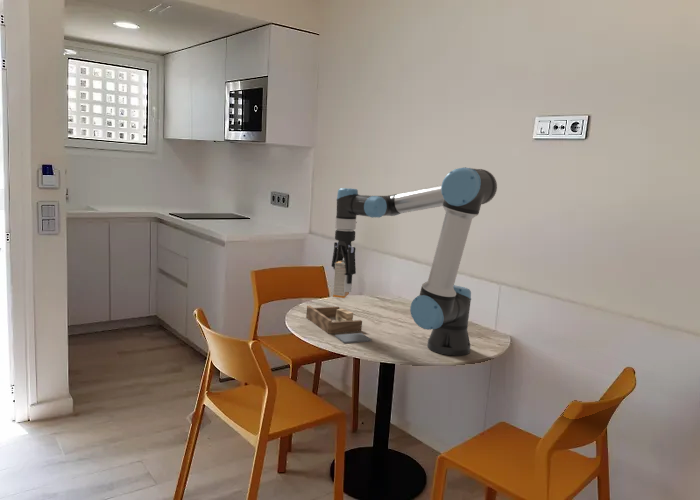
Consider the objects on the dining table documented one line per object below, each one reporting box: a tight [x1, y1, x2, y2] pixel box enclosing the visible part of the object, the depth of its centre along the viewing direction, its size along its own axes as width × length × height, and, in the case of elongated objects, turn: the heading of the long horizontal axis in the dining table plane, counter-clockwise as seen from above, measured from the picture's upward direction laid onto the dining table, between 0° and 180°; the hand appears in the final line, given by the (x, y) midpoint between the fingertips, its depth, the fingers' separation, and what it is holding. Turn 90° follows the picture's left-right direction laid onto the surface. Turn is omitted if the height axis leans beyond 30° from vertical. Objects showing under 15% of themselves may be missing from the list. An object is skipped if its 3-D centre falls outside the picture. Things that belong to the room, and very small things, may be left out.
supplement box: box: [332, 259, 350, 299], centre depth 213 cm, size 8×5×13 cm, turn 168°
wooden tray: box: [305, 305, 363, 335], centre depth 222 cm, size 21×14×5 cm, turn 26°
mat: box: [334, 332, 373, 344], centre depth 206 cm, size 8×11×1 cm
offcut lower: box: [334, 316, 354, 322], centre depth 224 cm, size 9×3×3 cm, turn 25°
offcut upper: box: [336, 308, 354, 320], centre depth 224 cm, size 7×3×2 cm, turn 38°
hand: (342, 289), depth 214 cm, fingers closed on supplement box, 9 cm apart
